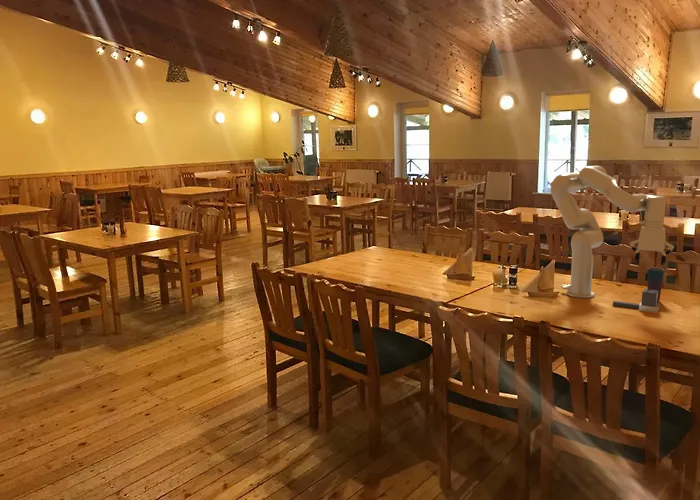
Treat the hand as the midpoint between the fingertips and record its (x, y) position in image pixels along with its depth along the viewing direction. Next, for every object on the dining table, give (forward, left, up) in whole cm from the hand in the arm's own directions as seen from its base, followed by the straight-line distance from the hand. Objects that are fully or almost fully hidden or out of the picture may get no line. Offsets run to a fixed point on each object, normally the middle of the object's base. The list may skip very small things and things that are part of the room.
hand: (649, 263), depth 257 cm
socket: (+1, -1, -18) cm, 18 cm away
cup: (+1, +16, -21) cm, 26 cm away
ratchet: (-4, -1, -21) cm, 21 cm away
